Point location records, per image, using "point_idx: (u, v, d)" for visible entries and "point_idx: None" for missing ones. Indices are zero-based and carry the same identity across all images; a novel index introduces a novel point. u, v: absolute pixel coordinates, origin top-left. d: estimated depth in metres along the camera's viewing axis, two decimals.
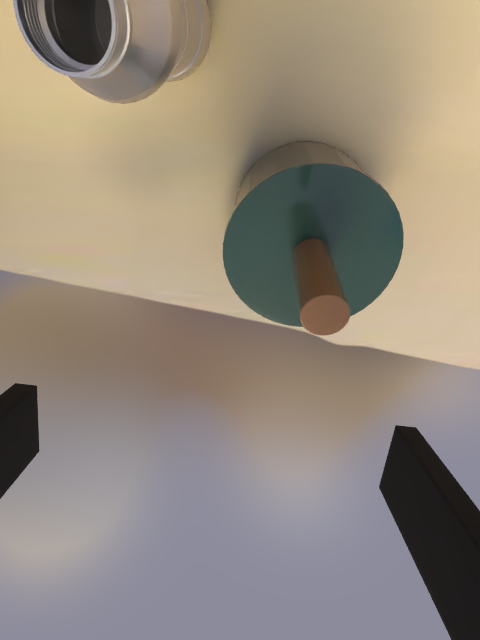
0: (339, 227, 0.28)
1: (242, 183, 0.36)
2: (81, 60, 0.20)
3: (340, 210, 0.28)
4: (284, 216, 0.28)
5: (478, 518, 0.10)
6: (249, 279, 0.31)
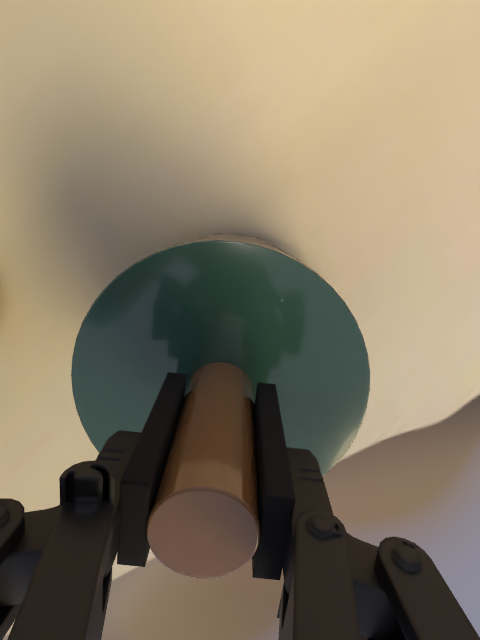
0: (210, 330, 0.17)
1: None
2: None
3: (186, 312, 0.17)
4: (136, 379, 0.18)
5: (279, 445, 0.12)
6: None
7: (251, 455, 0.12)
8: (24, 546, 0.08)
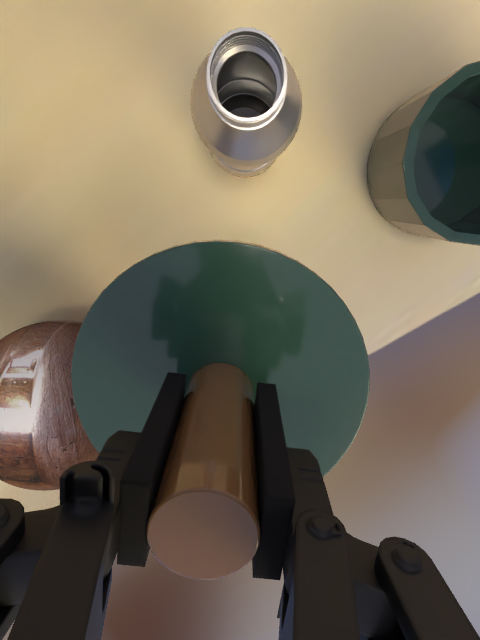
0: (210, 331, 0.17)
1: (370, 188, 0.37)
2: None
3: (186, 313, 0.17)
4: (136, 380, 0.18)
5: (279, 445, 0.12)
6: None
7: (251, 456, 0.12)
8: (24, 546, 0.08)
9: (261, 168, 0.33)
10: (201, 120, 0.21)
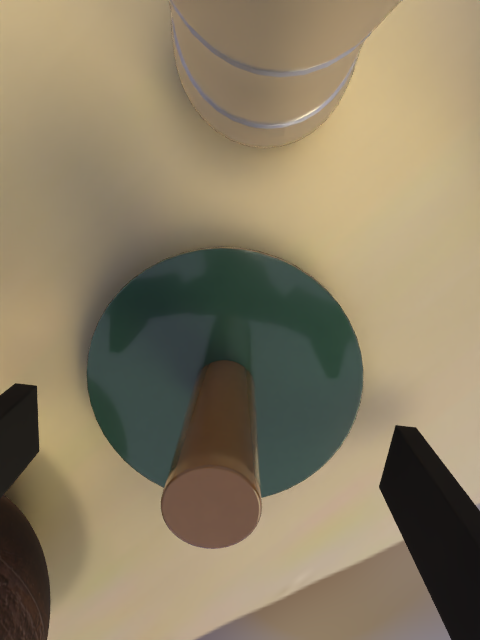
0: (215, 331, 0.18)
1: None
2: None
3: (193, 314, 0.18)
4: (146, 376, 0.19)
5: (478, 518, 0.10)
6: None
7: (253, 441, 0.13)
8: None
9: (309, 120, 0.13)
10: None
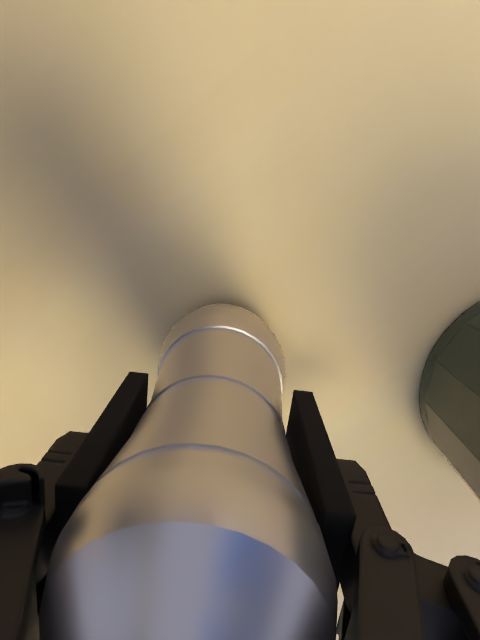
0: None
1: (426, 421, 0.23)
2: None
3: None
4: None
5: (329, 457, 0.12)
6: None
7: None
8: None
9: None
10: None
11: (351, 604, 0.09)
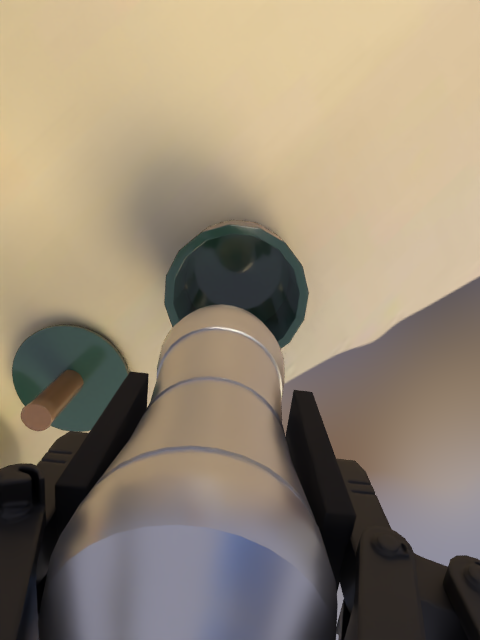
0: (63, 358, 0.45)
1: None
2: None
3: (54, 351, 0.44)
4: (37, 376, 0.45)
5: (328, 457, 0.12)
6: (61, 417, 0.47)
7: (59, 399, 0.40)
8: None
9: None
10: None
11: (351, 604, 0.09)
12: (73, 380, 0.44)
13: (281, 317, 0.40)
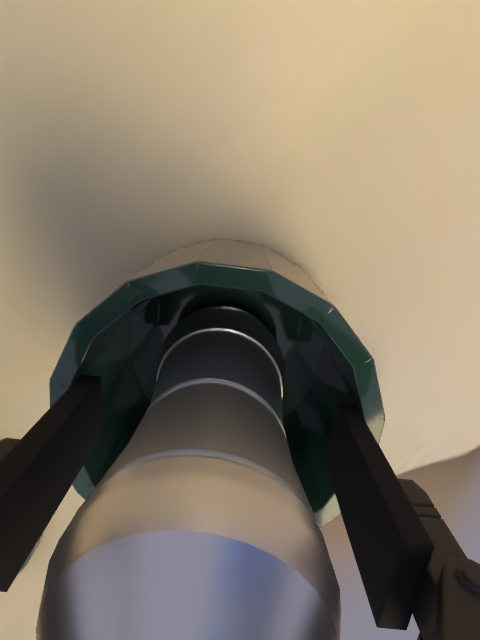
0: None
1: None
2: None
3: None
4: None
5: (390, 478, 0.11)
6: None
7: None
8: None
9: None
10: None
11: (429, 637, 0.09)
12: None
13: (311, 433, 0.20)
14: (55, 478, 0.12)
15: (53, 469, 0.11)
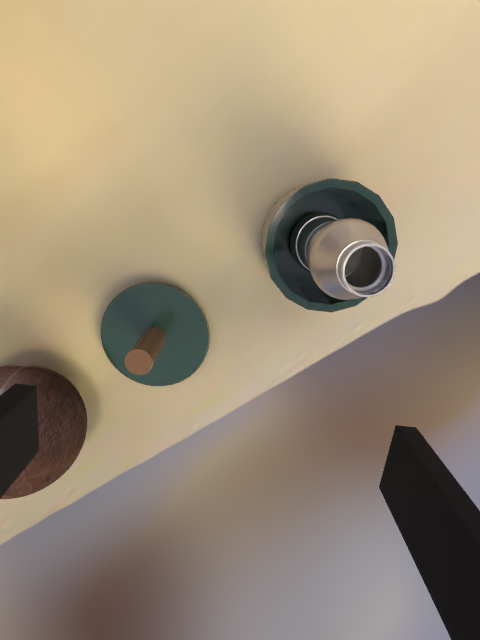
0: (150, 314, 0.48)
1: None
2: None
3: (141, 308, 0.48)
4: (124, 332, 0.49)
5: (478, 518, 0.10)
6: None
7: (155, 347, 0.43)
8: None
9: None
10: (320, 275, 0.30)
11: None
12: (160, 334, 0.47)
13: None
14: None
15: None
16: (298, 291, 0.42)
